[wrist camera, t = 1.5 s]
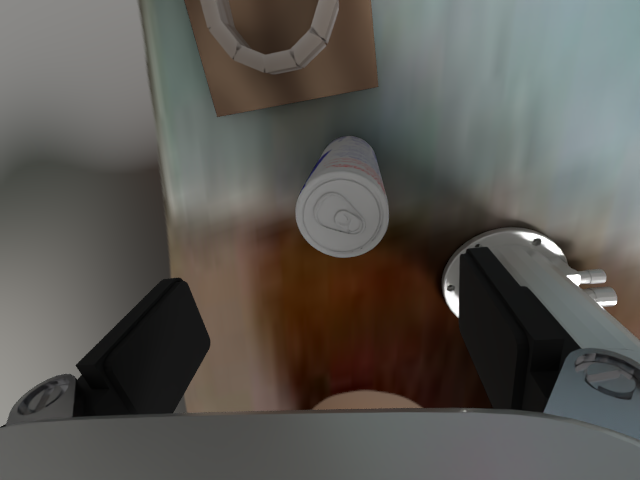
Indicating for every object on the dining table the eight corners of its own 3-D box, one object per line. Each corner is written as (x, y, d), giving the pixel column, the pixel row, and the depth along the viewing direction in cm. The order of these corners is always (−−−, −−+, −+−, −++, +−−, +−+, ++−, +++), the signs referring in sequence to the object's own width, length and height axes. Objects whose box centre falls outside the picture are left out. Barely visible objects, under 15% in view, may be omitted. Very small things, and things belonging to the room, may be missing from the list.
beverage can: (317, 137, 31) (287, 173, 18) (375, 132, 30) (389, 165, 17) (323, 193, 33) (299, 261, 20) (377, 189, 33) (390, 258, 19)
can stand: (357, -143, 23) (357, -195, 19) (377, 87, 29) (380, 86, 25) (168, -85, 25) (131, -118, 21) (223, 115, 31) (203, 119, 27)
